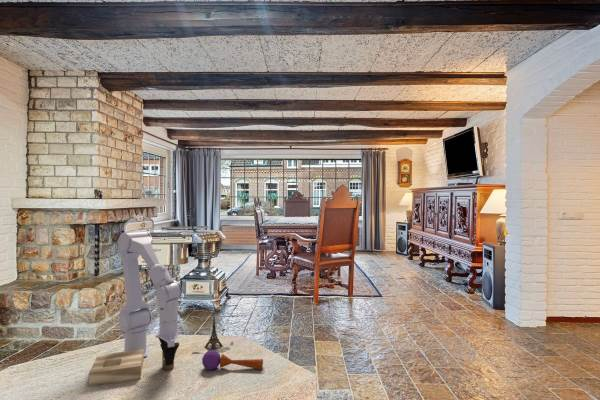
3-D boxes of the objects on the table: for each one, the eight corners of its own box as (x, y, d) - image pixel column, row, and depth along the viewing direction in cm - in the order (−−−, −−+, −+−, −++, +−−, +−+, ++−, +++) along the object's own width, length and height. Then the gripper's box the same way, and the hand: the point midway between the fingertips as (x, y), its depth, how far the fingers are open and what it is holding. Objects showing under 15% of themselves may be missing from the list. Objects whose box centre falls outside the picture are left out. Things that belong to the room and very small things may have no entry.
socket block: (97, 366, 117) (97, 354, 117) (143, 360, 121) (143, 349, 121) (89, 386, 104) (89, 372, 104) (140, 378, 109) (140, 365, 109)
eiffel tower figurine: (190, 355, 127) (190, 318, 127) (194, 344, 137) (195, 310, 137) (232, 353, 129) (232, 317, 129) (233, 342, 139) (234, 309, 139)
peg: (162, 366, 117) (162, 342, 117) (173, 364, 119) (174, 341, 119) (161, 371, 114) (162, 346, 114) (174, 369, 115) (174, 345, 115)
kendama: (262, 362, 113) (200, 356, 113) (260, 378, 114) (199, 373, 114) (264, 351, 119) (205, 345, 119) (262, 366, 120) (204, 361, 120)
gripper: (153, 314, 121) (153, 354, 121) (157, 328, 108) (157, 372, 108) (175, 312, 124) (174, 350, 124) (181, 325, 111) (181, 368, 111)
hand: (168, 360), depth 116 cm, fingers open, 6 cm apart
